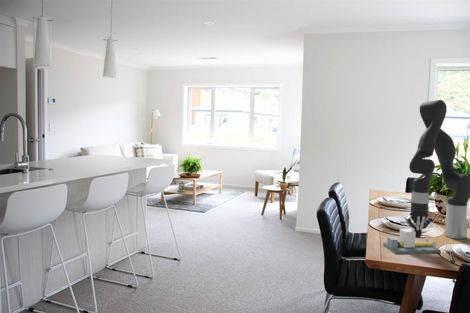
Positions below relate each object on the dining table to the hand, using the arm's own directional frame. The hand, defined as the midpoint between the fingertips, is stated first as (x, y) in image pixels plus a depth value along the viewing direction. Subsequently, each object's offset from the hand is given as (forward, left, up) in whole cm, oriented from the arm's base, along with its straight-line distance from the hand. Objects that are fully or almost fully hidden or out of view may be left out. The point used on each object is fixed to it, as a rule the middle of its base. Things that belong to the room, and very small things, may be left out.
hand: (417, 237), depth 193 cm
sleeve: (+5, 0, -4) cm, 6 cm away
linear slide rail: (+3, 0, -6) cm, 6 cm away
